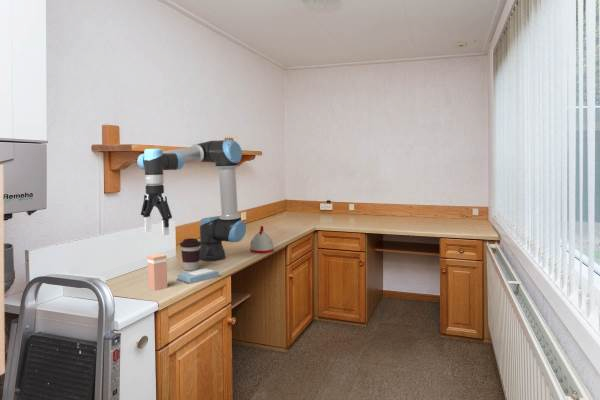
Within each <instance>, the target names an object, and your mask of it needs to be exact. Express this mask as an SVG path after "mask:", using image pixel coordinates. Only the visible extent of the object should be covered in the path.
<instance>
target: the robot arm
mask: <svg viewBox="0 0 600 400" xmlns="http://www.w3.org/2000/svg"><path fill="white" fill-rule="evenodd" d="M143 152H144V153H141V154H139V155H138V157H137V159H136V161H137V163H136V164H137V166H138V167H139V168H140V169H141V170H144V179H145V180H144V181H145V194H144V195H143V203H142V206H141V212H140V215H141V216H143V220H144V222H143V224H144V233H147V232H149V233H150V232H152V220H151V219H152V217H151V216H152V215H151V213H152V211H153V210H154V207H156V208H157V211H158V212H159V214H160V216H161V218H162V219H161V231H162V233H161V235H162V236H167V235H170V223H169V221H170V220H171V219H172V218H173V215H172V212H171V210H170V209H171V208H170V205H169V203H168V199H167V198H168V197H167V196H166V195H165V196H163V195H162V194H164V193H165V186H164V183H165V181H164V171H177V170H181V169H182V168H183V167H184V166H185V164H188V163H192V162H195V163H215V167H216V169H218V177H219V179H218V180H219V195H220V196H219V197H220V208H221V211H220V212H221V215H218V216H217V215H216V216H208V217H203V218H201V219H200V221H199V236H200V237H199V238H200V240H199V242H201V245H200V246H199V249H200V256H199V261H203V262H213V261H214V262H216V261H221V260H225V259H226V252H225V249H224V246H223V242H227V243H228V242H229V243H239V242H240V241H242V240H243V239H244V237H245V236H246V232H247V225H246V223H245V221H243V220H242V216H241V215H240V214H239V210H238V194H237V193H238V192H237V177H236V169H237V167H238V166H239V162H241V160H242V156H243V151H242V148H241V145H240V144H239V143H238V142H237V141H235V140H231V139H226V140H225V139H223V140H221V139H220V140H208V141H205V142H204V141H203V142H200V143H196V144H192V145H191V146H189V147H183V148H175V149H170V150H163V149H162V148H146V149H144V151H143Z"/></svg>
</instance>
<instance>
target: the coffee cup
mask: <svg viewBox="0 0 600 400" xmlns="http://www.w3.org/2000/svg"><path fill="white" fill-rule="evenodd" d="M200 245H201V242H200V240H198V239H197V238H184V239H182V242H180V243H179V246H180V247H181V250H180V251H181V259H182V265H183V270H184V271H187V272H190V271H194V270H199V269H200V268H199V264H200V260H199V256H200V249H199V248H200Z"/></svg>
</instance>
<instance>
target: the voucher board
mask: <svg viewBox="0 0 600 400" xmlns="http://www.w3.org/2000/svg"><path fill="white" fill-rule="evenodd" d="M218 277H220V271H219V270H215V269H211V268H207V267H205V268H204V267H203V268H201V269H200V268H198V269H197V270H191V271H186V272H182V273H177V274H176V281H177V282H181V283H183V284H187V285H189V284H190V285H191V284H194V282H195V283H198V281H199V282H203V281H206V280H211V279H215V278H218Z"/></svg>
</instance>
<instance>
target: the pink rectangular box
mask: <svg viewBox="0 0 600 400" xmlns="http://www.w3.org/2000/svg"><path fill="white" fill-rule="evenodd" d="M146 257H147V258H146V259H147V286H148V287H147V288H148V289H149V290H151V291H154V292H155V291H160V290H162V289H166V288H168V269H167V268H168V265H167V264H168V263H167V255H166V254H163V253H157V254H152V255H147V256H146Z"/></svg>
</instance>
